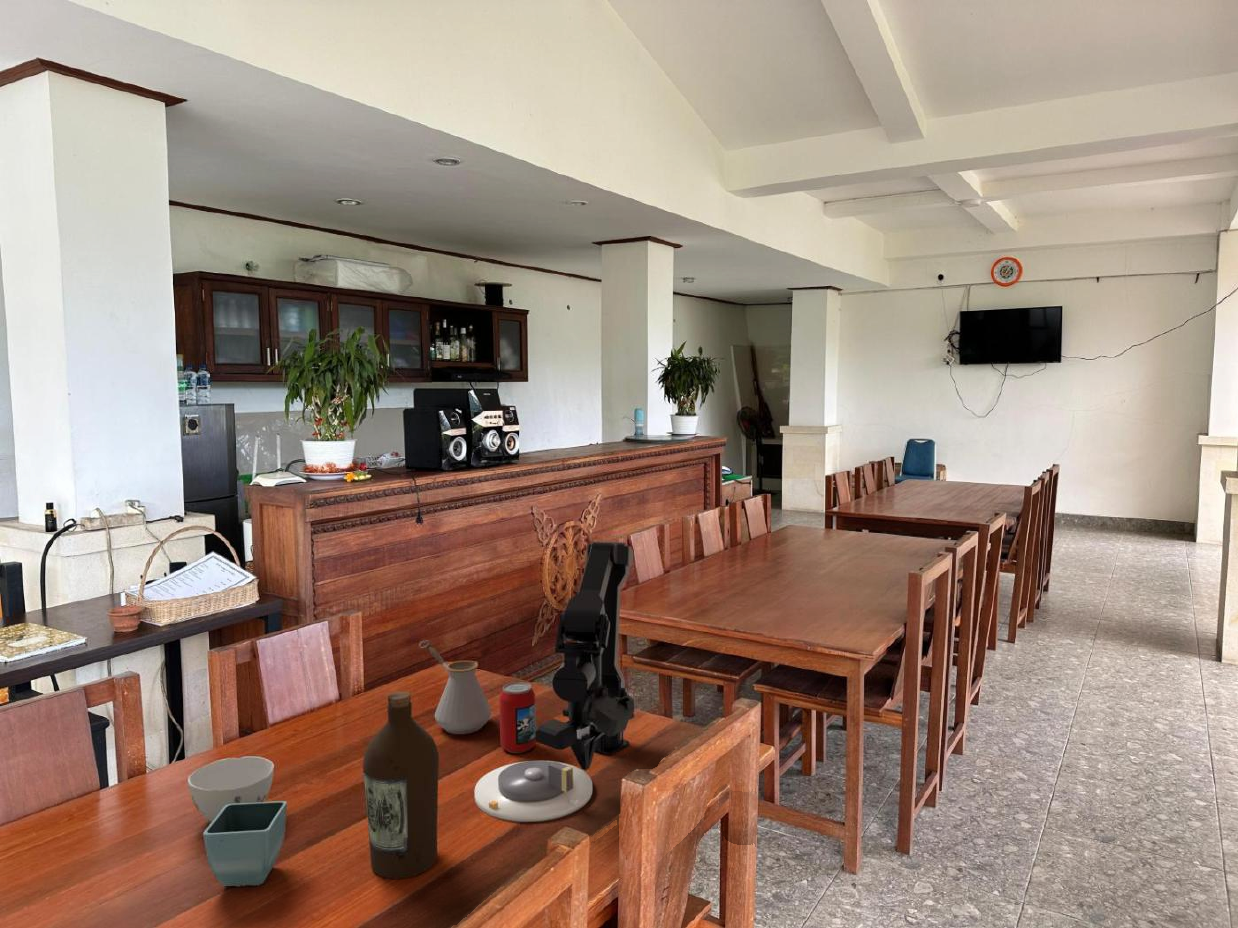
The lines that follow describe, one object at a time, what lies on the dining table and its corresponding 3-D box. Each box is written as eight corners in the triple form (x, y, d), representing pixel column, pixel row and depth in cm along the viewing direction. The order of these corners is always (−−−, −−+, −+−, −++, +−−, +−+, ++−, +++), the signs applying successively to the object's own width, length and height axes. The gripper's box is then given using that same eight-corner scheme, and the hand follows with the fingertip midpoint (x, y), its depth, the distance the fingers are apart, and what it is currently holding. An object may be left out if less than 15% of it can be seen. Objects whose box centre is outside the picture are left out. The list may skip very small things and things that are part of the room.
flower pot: (228, 861, 124) (225, 802, 123) (290, 858, 125) (288, 799, 124) (204, 897, 115) (201, 834, 114) (271, 893, 116) (268, 830, 115)
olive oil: (396, 836, 130) (391, 678, 128) (455, 849, 127) (451, 687, 124) (350, 873, 121) (344, 703, 118) (413, 888, 117) (408, 713, 115)
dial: (483, 787, 144) (482, 758, 143) (533, 762, 153) (532, 735, 152) (544, 813, 135) (544, 782, 134) (593, 785, 144) (593, 756, 143)
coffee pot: (503, 727, 172) (501, 655, 171) (454, 743, 165) (452, 668, 163) (447, 699, 188) (445, 633, 187) (400, 713, 180) (398, 644, 179)
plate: (533, 756, 159) (533, 746, 158) (616, 786, 146) (616, 776, 146) (449, 796, 143) (449, 786, 143) (534, 834, 131) (534, 823, 130)
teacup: (286, 821, 135) (284, 773, 135) (201, 848, 127) (198, 797, 127) (258, 787, 147) (255, 742, 146) (178, 810, 139) (176, 763, 138)
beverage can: (529, 756, 158) (528, 694, 157) (495, 753, 160) (494, 691, 159) (540, 741, 165) (539, 681, 164) (507, 739, 166) (506, 679, 165)
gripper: (583, 707, 130) (584, 804, 132) (655, 675, 145) (656, 762, 146) (532, 691, 137) (533, 784, 139) (605, 662, 152) (606, 746, 153)
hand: (585, 769), depth 144 cm, fingers closed
